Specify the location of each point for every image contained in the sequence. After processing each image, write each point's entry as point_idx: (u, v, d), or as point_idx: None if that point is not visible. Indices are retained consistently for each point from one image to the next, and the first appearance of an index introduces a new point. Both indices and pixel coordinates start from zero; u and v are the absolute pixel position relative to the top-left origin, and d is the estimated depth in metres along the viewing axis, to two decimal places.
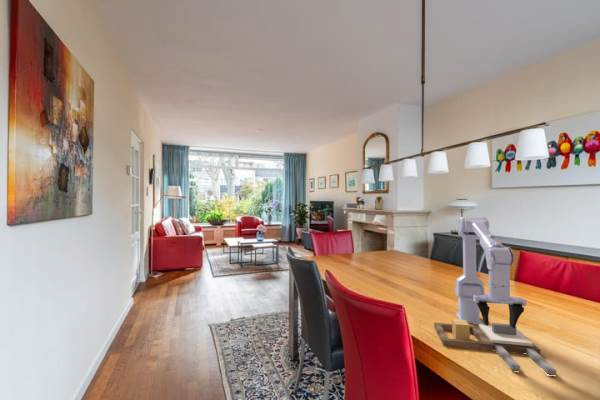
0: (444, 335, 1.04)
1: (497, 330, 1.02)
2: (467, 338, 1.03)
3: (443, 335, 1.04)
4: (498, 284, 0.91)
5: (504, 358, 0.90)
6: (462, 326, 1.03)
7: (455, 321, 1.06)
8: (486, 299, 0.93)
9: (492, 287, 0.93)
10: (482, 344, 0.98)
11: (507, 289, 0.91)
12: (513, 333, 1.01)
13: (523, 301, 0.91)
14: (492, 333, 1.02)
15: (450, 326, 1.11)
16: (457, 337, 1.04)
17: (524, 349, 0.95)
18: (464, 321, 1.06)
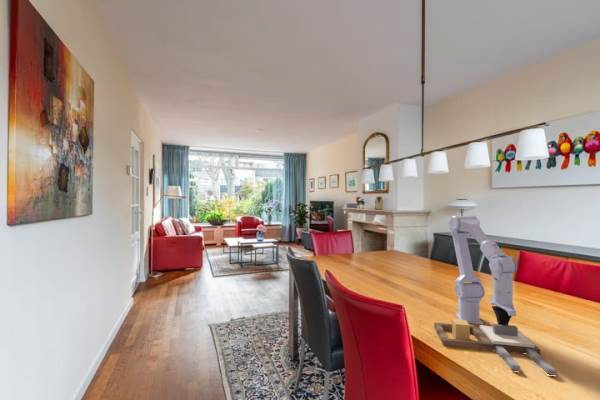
0: (444, 335, 1.04)
1: (498, 331, 1.01)
2: (467, 338, 1.03)
3: (443, 335, 1.04)
4: (505, 291, 1.00)
5: (504, 358, 0.90)
6: (462, 326, 1.03)
7: (455, 321, 1.06)
8: (492, 299, 1.08)
9: None
10: (482, 344, 0.98)
11: (497, 294, 1.02)
12: (514, 334, 1.00)
13: (507, 310, 0.97)
14: (493, 334, 1.01)
15: (450, 326, 1.11)
16: (457, 337, 1.04)
17: (524, 349, 0.95)
18: (464, 321, 1.06)
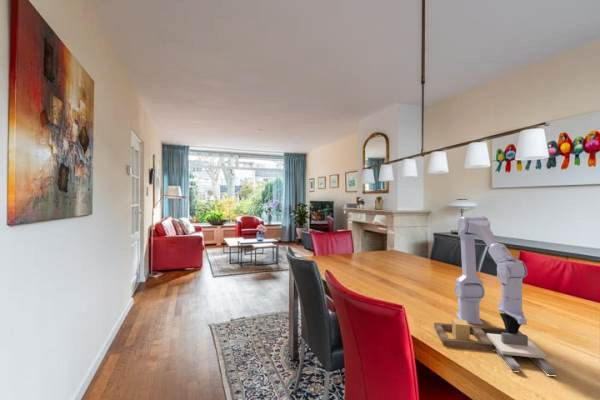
0: (444, 335, 1.04)
1: (507, 340, 0.95)
2: (467, 338, 1.03)
3: (443, 335, 1.04)
4: (513, 297, 0.94)
5: (504, 358, 0.90)
6: (462, 326, 1.03)
7: (455, 321, 1.06)
8: (500, 305, 1.01)
9: None
10: (482, 344, 0.98)
11: (505, 300, 0.96)
12: (524, 344, 0.94)
13: (517, 318, 0.91)
14: (501, 344, 0.95)
15: (450, 326, 1.11)
16: (457, 337, 1.04)
17: None
18: (464, 321, 1.06)
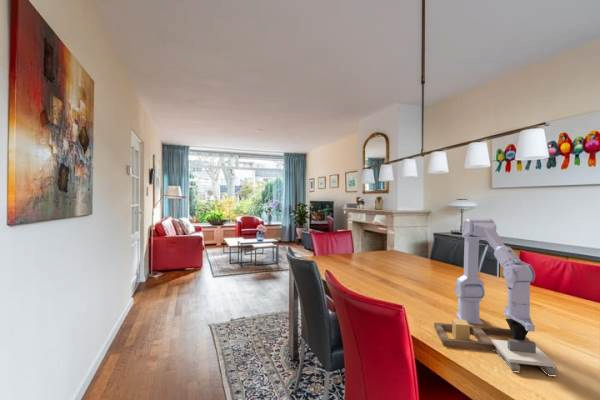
0: (444, 335, 1.04)
1: (514, 347, 0.90)
2: (467, 338, 1.03)
3: (443, 335, 1.04)
4: (520, 302, 0.90)
5: (504, 358, 0.90)
6: (462, 326, 1.03)
7: (455, 321, 1.06)
8: (506, 310, 0.97)
9: None
10: (482, 344, 0.98)
11: (512, 306, 0.91)
12: (532, 351, 0.89)
13: (525, 324, 0.86)
14: (508, 351, 0.90)
15: (450, 326, 1.11)
16: (457, 337, 1.04)
17: None
18: (464, 321, 1.06)
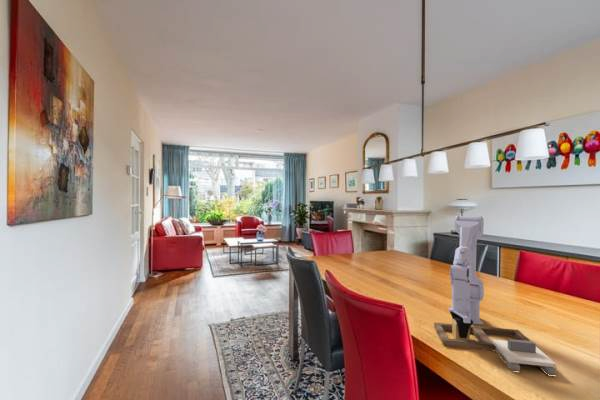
0: (444, 335, 1.04)
1: (514, 347, 0.90)
2: (467, 338, 1.03)
3: (443, 335, 1.04)
4: (455, 297, 1.04)
5: (504, 358, 0.90)
6: None
7: (455, 321, 1.06)
8: None
9: None
10: (482, 344, 0.98)
11: (455, 301, 1.04)
12: (532, 351, 0.89)
13: (463, 317, 0.99)
14: (508, 351, 0.90)
15: (450, 326, 1.11)
16: (457, 337, 1.04)
17: None
18: None
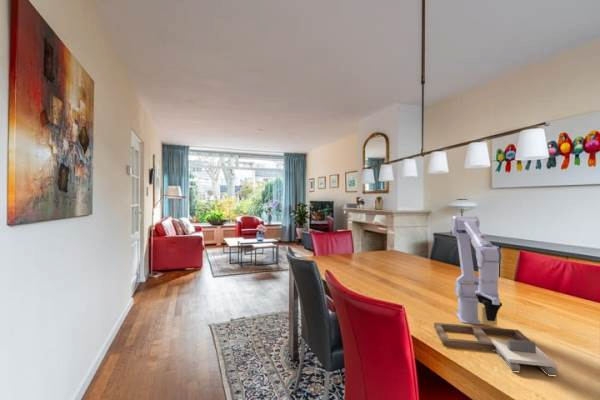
0: (444, 335, 1.04)
1: (514, 347, 0.90)
2: (494, 321, 1.01)
3: (443, 335, 1.04)
4: (487, 280, 1.01)
5: (504, 358, 0.90)
6: None
7: (481, 304, 1.04)
8: None
9: None
10: (482, 344, 0.98)
11: (482, 283, 1.02)
12: (532, 351, 0.89)
13: (492, 299, 0.97)
14: (508, 351, 0.90)
15: (450, 326, 1.11)
16: (484, 320, 1.02)
17: None
18: None
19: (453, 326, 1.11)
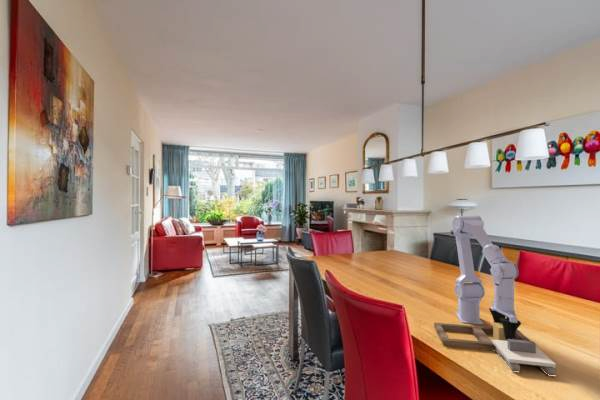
0: (444, 335, 1.04)
1: (514, 347, 0.90)
2: None
3: (443, 335, 1.04)
4: (506, 297, 0.99)
5: (504, 358, 0.90)
6: None
7: (497, 325, 1.03)
8: (493, 304, 1.07)
9: None
10: (482, 344, 0.98)
11: (498, 300, 1.01)
12: (532, 351, 0.89)
13: (509, 316, 0.96)
14: (508, 351, 0.90)
15: (450, 326, 1.11)
16: None
17: None
18: None
19: (453, 326, 1.11)
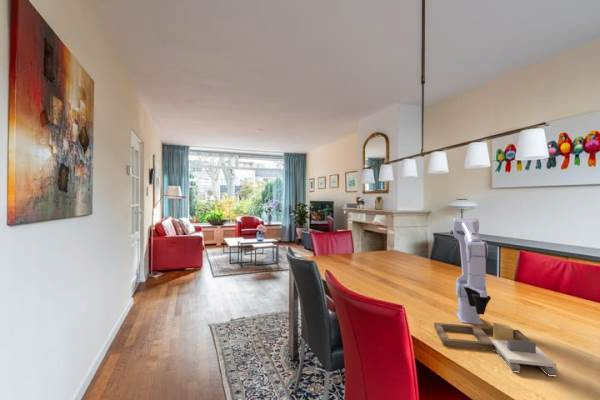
0: (444, 335, 1.04)
1: (514, 347, 0.90)
2: None
3: (443, 335, 1.04)
4: (474, 273, 1.06)
5: (504, 358, 0.90)
6: (505, 330, 1.00)
7: (497, 325, 1.03)
8: None
9: None
10: (482, 344, 0.98)
11: (471, 277, 1.07)
12: (532, 351, 0.89)
13: (479, 292, 1.02)
14: (508, 351, 0.90)
15: (450, 326, 1.11)
16: None
17: None
18: (506, 325, 1.03)
19: (453, 326, 1.11)
